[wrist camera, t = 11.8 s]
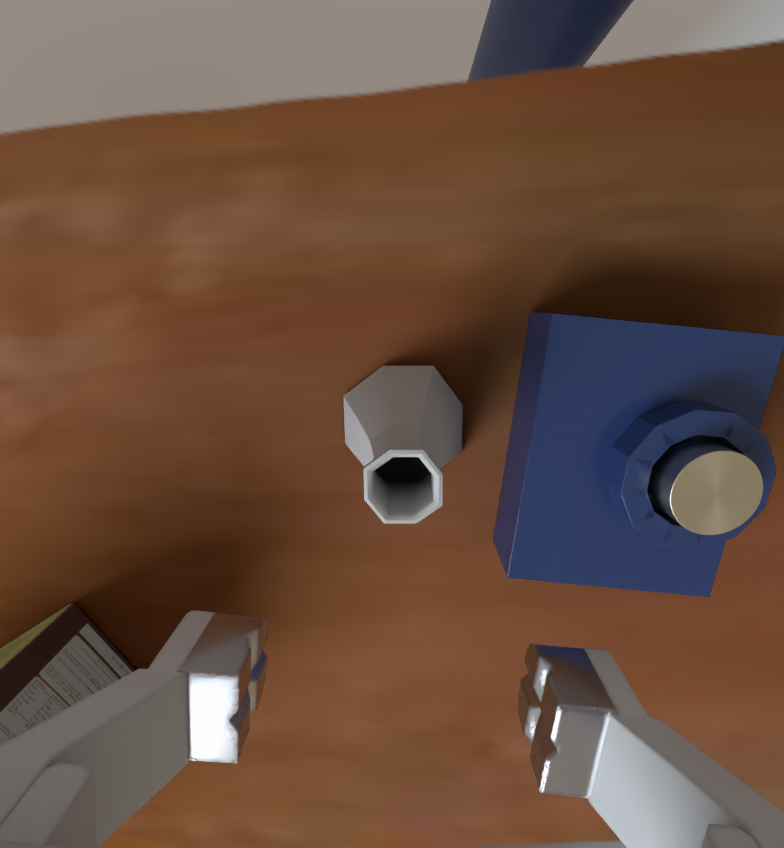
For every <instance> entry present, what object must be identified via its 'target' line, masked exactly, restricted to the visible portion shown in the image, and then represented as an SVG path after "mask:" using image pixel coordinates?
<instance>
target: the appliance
mask: <svg viewBox="0 0 784 848" xmlns="http://www.w3.org/2000/svg"><path fill="white" fill-rule="evenodd" d="M783 348H784V336H782V335H772V334H761V333H751V332H741V331H731V330H720V329H710V328H700V327H690V326H679V325H669V324H659V323H648V322H638V321H628V320H618V319H607V318H597V317H587V316H577V315H566V314H556V313H543V312H530V316H529V323H528V329H527V335H526V341H525V347H524V353H523V359H522V366H521V372H520V378H519V384H518V390H517V396H516V402H515V409H514V415H513V421H512V427H511V433H510V439H509V445H508V452H507V458H506V464H505V470H504V476H503V482H502V488H501V495H500V501H499V507H498V513H497V519H496V525H495V531H494V538H493V541H494V544H495V546H496V549H497V552H498V554H499V557H500V560H501V562H502V565H503V567H504V570H505V573H506V575H507V578H516V579H526V580H536V581H547V582H557V583H568V584H578V585H588V586H599V587H609V588H620V589H630V590H640V591H651V592H661V593H671V594H682V595H692V596H703V597H709V596H710V592H711V589H712V586H713V582H714V579H715V576H716V572H717V569H718V566H719V562H720V559H721V556H722V552H723V549H724V546H725V542H726V540H728V539H731V538H734V537H736V536H737V535H738V534H739V533H740V532H741V531H742V530H743V529H744V528H745V527H746V526H747V525H748V524H749V523H750V522H751V521H752V520H753V519H754V518H755V517H756V516H757V515H758V514H759V513H760V512H761V511H762V510H763V509H764V507H765V506H766V503H767V500H768V497H769V494H770V491H771V487H772V484H773V481H774V478H775V475H776V467H775V463H774V460H773V456H772V453H771V449H770V446H769V442H768V438H767V437H766V436H765V434H763V433H762V432H761V431H759V428H760V425H761V422H762V418H763V415H764V412H765V408H766V405H767V401H768V398H769V395H770V391H771V388H772V385H773V381H774V378H775V375H776V371H777V368H778V365H779V361H780V358H781V355H782V351H783ZM692 440H709V441H713V442H716V443H718V444H720V445H723V446H725V447H727V448H729V449H731V450H734V451H736V452H738V453H740V454H743V455H745V456H746V457H748V458H749V459H751V460H752V461H753V462H754V463H755V465H756V466H757V467H758V469H759V471H760V473H761V476H762V479H763V494H762V498H761V501H760V503H759V505H758V507H757V509H756V511H755V512H754V513H753V515H752V516H751V517H750V518H749V519H748V520H747V521H746V522H745V523H743V524H742V525H740V526H739V527H737V528H735V529H733V530H731V531H729V532H726V533H723V534H718V535H702V534H697V533H694V532H691V531H689V530H687V529H686V528H684V527H683V526H681V525H680V524H679V523H678V522H676V521H675V520H674V519H673V518H671V517H670V516H669V515H668V514H666V513H665V512H664V511H663V510H662V509H660V507H659V506H658V505H657V504H656V502H655V500H654V498H653V496H652V492H651V478H652V474H653V471H654V469H655V466H656V465H657V463H658V461H659V460H660V459H661V458H662V456H664V455H665V454H666V453H667V452H668V451H669V450H670V449H672V448H674V447H675V446H677V445H679V444H681V443H684V442H687V441H692Z"/></svg>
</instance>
